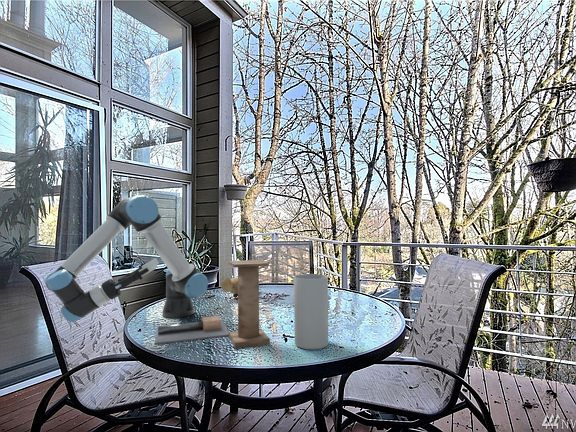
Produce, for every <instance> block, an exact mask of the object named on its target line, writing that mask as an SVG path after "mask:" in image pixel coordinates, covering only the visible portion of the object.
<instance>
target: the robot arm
mask: <svg viewBox="0 0 576 432" xmlns="http://www.w3.org/2000/svg"><path fill="white" fill-rule="evenodd" d="M105 219H106V220H105V221H104V222H103V223H101V225H99V227H97V229H95V231H94V232H93V233H92V234H91V235H89V236H88V238H87V239H86V240H85V241H84V242H83V243H82V244H81V245H80V246H79V247H77V249H75V251H74V252H73V253H72V254H71V255H70V256H68V258H66V260H65V261H64V262H63V263H61V265H60V266H59V267H58V268H57V269H56V270H55V271H53V272H51V273H49V274H48V275H47V277H46V278H45V281H44V283H45V286H46V288H47V290H49V291H50V292H52V293H53V294H54V295H55V296H56V297H57V298H58V300H60V301H61V302H62V304H63V305H62V306H61V308H60V312H61V315H62V316H63V318H64V319H65V320H66V321H67V322H68V323H74V322H77V321H79V320H81V319H83V318H85V317H86V316H88V315H90V314H91V313H93V312H95V311H96V310H97V309H100V308H101V307H102V306H104V307H106V306H107V304H108V303H110V302H111V300H115V299H117V297H119V296H121V294H122V292H121V289H125V288H127V286H129V285H131V284H132V283H134V282H136V281H139V280H140V281H141V280H143V279H144V278H143V277H144V276H146V275H147V274H149V273H151V272H153V271H154V270H156V269H157V268H159V266H158V265H160V262H159V260H158V259H157V257H155V258H154V259H152V260H150V261H148V262H146V263H144V264H143V265H141V264H140V265H138V268H136V269H135V270H133V271H131V272H130V273H127V274H125V275H124V276H121V277H119V278H118V279H117V282H115V280H114V279H112V278H109V279H108V280H106V281H103V282H102V283H101V284H98V285H97V286H95V287H93V288H90V290H88V291H87V292H85V291H84V290H83V288H82V287H81V286H80V284H78V282H77V281H76V279H77V278H78V276H79V275H80V274H81V273H82V272H83V271H85V269H86V268H88V266H89V265H90V264H91V263H92V262H93V261H95V259H96V258H97V257H98V256H99V254H101V253H102V251H103V250H104V249H105V248H106V247H107V246H108V245H109V244H110V243H111V242H112V241H113V240H114V239H115V238H116V237H117V236H118V234H120V233H121V232H124V231H126V230H127V229H128V228H129V227H130V226H131V225H132V227H133V229H135V231H136V233H140V234H143V236H144V237H145V239H146V240H147V241H148V243H149V244H150V246H151V247H152V248H153V250H155V252H156V253H157V255H158V256H159V258H160V259H161V261H162V262H163V264H165V266H166V267H167V269H166V273H165V301H164V305H163V307H162V310H161V311H162V314H161V315H162V317H164V318H169V319H179V318H184V317H185V318H187V317H189V316H191V315H193V314H195V307H194V305H193V302H192V299H198V298H200V297H202V296H203V295H204V294H205V293H206V291H207V290H208V286H209V281H208V277H207V275H205V274H203V273H202V272H200V271H199V270H198V269H197V267H196V266H195V264H193V263H189V262H188V260H187V259H186V257H185V256H184V254H183V253H182V252H181V250H180V248H179V247H178V245H177V244H176V242H174V239H173V238H172V237H171V236H170V234H169V232H168V231H167V230H166V228H165V227H164V225H163V224H162V216H161V214H160V212H159V206H158V204H157V202H156V201H155V199H153V198H152V197H150V196H148V195H141V194H140V195H139V194H138V195H133V196H130V197H125V198H124V199H122V200H120V201H119V202H118V204H116V206H115V207H114V208H113V209H111V211H110V212H109V213H108V214H107V215H106V217H105Z"/></svg>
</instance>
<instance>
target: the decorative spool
mask: <svg viewBox="0 0 576 432" xmlns="http://www.w3.org/2000/svg"><path fill="white" fill-rule="evenodd" d="M220 286H221V287H220V288H221V290H222V291H223V293H229V292H230V293H231V294H232V298H233V297H237V296H238V277H233V278H231V279H230V278H229V277H228V278H224V279H223V280H222V281H221V284H220Z"/></svg>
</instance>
